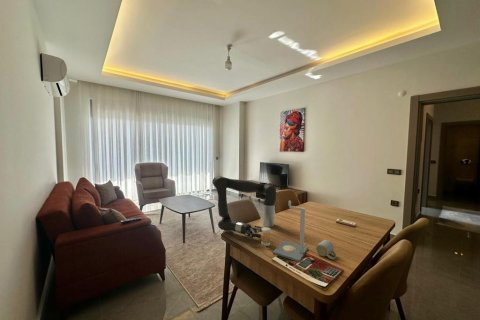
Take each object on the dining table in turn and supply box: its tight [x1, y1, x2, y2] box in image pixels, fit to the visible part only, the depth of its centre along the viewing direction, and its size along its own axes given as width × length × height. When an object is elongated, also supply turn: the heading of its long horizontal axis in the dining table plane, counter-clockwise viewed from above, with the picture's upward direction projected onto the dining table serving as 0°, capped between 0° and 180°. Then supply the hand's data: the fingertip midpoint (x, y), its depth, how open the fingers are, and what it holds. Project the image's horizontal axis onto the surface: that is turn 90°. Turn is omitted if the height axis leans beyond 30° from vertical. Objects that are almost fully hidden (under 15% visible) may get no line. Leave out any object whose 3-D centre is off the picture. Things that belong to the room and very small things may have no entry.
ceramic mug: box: [315, 239, 338, 260], centre depth 118 cm, size 11×8×8 cm
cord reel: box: [260, 226, 271, 247], centre depth 132 cm, size 6×6×10 cm
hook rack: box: [272, 200, 309, 263], centre depth 122 cm, size 18×16×31 cm
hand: (263, 234), depth 132 cm, fingers open, 8 cm apart
